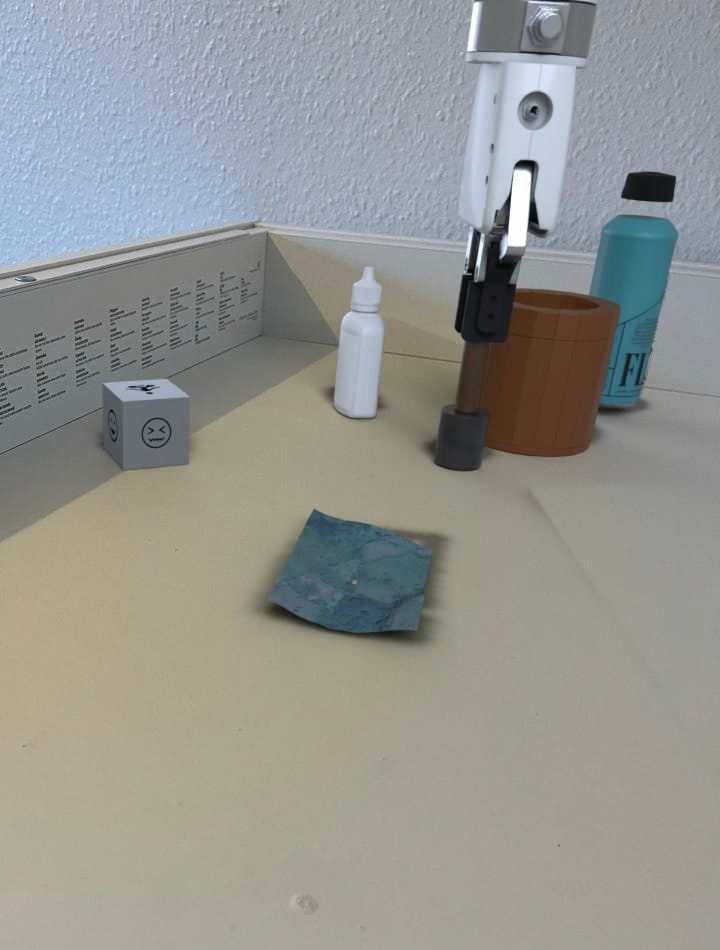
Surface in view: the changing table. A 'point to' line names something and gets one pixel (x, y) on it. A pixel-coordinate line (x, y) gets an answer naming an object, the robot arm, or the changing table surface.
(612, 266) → the beverage bottle
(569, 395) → the brown wooden cup
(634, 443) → the changing table surface
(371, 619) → the terrain model
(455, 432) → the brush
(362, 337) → the eye dropper bottle
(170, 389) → the dice cube
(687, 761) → the changing table surface
